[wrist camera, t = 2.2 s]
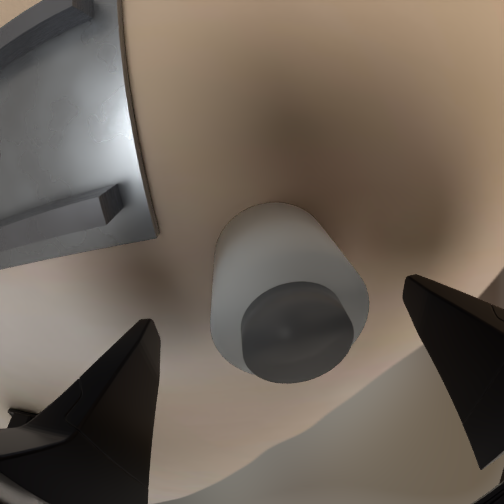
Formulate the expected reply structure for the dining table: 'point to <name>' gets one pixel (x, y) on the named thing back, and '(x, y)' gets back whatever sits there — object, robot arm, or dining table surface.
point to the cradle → (68, 135)
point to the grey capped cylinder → (284, 295)
